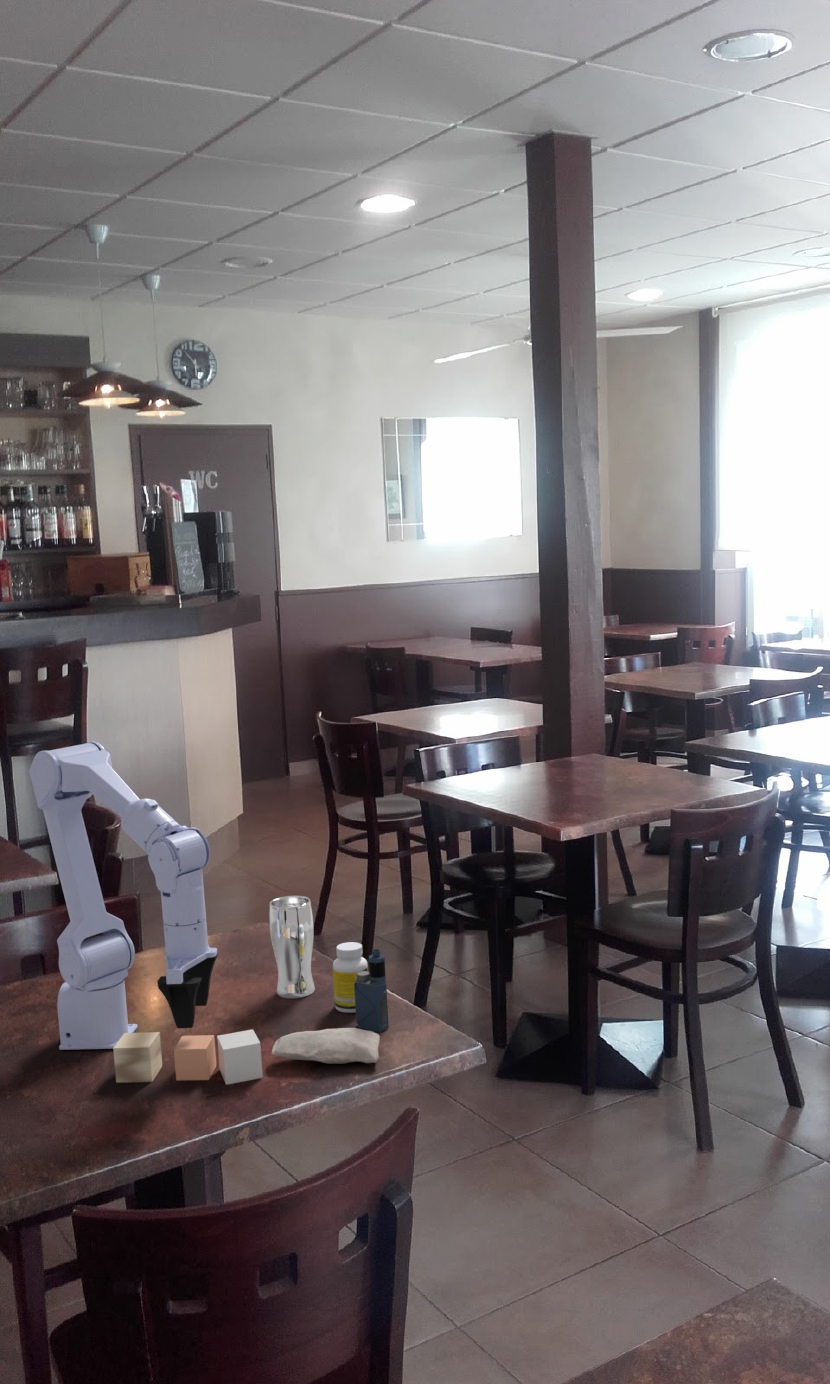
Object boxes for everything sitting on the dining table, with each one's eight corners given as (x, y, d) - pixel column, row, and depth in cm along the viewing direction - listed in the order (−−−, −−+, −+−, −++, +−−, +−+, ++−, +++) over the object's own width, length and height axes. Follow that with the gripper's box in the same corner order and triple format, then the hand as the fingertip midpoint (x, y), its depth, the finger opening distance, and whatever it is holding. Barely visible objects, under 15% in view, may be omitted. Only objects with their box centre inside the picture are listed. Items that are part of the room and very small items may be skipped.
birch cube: (116, 1083, 161) (113, 1048, 161) (127, 1067, 166) (124, 1033, 166) (152, 1082, 161) (149, 1047, 160) (162, 1066, 166) (159, 1032, 165)
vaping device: (382, 1033, 173) (378, 954, 171) (353, 1027, 176) (348, 949, 174) (392, 1027, 175) (388, 949, 173) (363, 1021, 178) (358, 944, 176)
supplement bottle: (365, 1014, 180) (361, 952, 179) (330, 1013, 181) (326, 951, 180) (373, 1001, 186) (370, 940, 184) (340, 1000, 187) (336, 940, 185)
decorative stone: (379, 1042, 160) (268, 1049, 160) (381, 1072, 161) (270, 1079, 160) (378, 1013, 170) (273, 1019, 170) (380, 1041, 171) (275, 1048, 170)
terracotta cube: (176, 1081, 161) (173, 1049, 160) (184, 1066, 165) (182, 1036, 165) (208, 1080, 161) (206, 1048, 160) (216, 1066, 165) (214, 1035, 165)
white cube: (226, 1085, 159) (223, 1049, 158) (219, 1070, 164) (217, 1035, 163) (262, 1078, 160) (260, 1043, 160) (255, 1063, 165) (253, 1029, 165)
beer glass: (326, 987, 192) (320, 898, 190) (299, 1002, 186) (293, 910, 184) (292, 981, 196) (286, 893, 194) (265, 995, 190) (259, 905, 188)
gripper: (200, 936, 153) (208, 1037, 154) (225, 902, 167) (232, 995, 169) (147, 938, 153) (155, 1038, 155) (176, 904, 168) (184, 996, 169)
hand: (192, 1016), depth 162 cm, fingers open, 7 cm apart
